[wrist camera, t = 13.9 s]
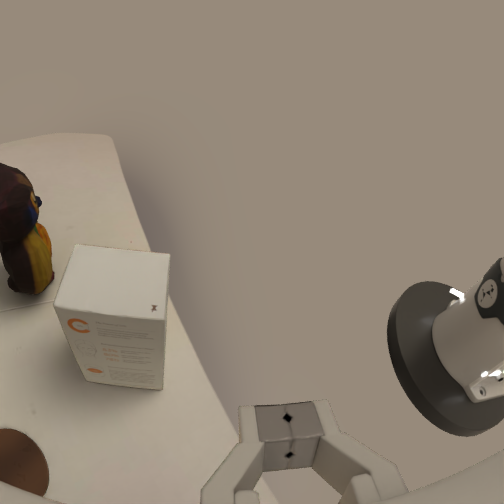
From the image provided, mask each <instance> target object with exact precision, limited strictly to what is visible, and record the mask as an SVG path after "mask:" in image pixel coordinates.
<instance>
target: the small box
mask: <svg viewBox="0 0 504 504" xmlns="http://www.w3.org/2000/svg"><path fill="white" fill-rule="evenodd" d="M169 267H170V254H167V253H156V252H147V251H138V250H128V249H119V248H109V247H100V246H91V245H82V244H75V246H74V249H73V251H72V254H71V257H70V259H69V262H68V264H67V267H66V270H65V272H64V275H63V278H62V281H61V283H60V286H59V289H58V292H57V295H56V298H55V300H54V303H53V306H54V308H55V311H56V313H57V316H58V318H59V321H60V323H61V326H62V328H63V331H64V333H65V336H66V338H67V340H68V343H69V345H70V347H71V349H72V352H73V354H74V356H75V359H76V361H77V363H78V365H79V367H80V369H81V371H82V373H83V375H84V377H85V379H86V381H89V382H96V383H102V384H110V385H118V386H126V387H135V388H145V389H157V390H162V389H163V378H164V360H165V342H166V322H167V303H168V285H169Z"/></svg>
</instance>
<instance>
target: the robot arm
mask: <svg viewBox="0 0 504 504" xmlns="http://www.w3.org/2000/svg"><path fill="white" fill-rule="evenodd" d="M450 292H451V293H453V294H455V295H457V296H458V297H460V298H459V299H458V300H452V301H451V302H450V303H449V304H448V306H447V309H446V310H445V311H443V312H442V313H440V314H439V315H438V316H437V317H436V318H435V320H434V322H433V326H432V338H433V343H434V347H435V350H436V352H437V355H438V357H439V359H440V361H441V363H442V364H443V366H444V368H445V369H446V370H447V372H448V373H449V374H450V375H451V376H452V377H453V378H454V379H455V380H456V381H457V382H458V383H459V384H460V385H461V386H462V387H463V389H464V390H465V392H466V394H467V396H468V397H469V399H470V400H471V401H472V402H473V403H478V402H483V401H487V400H491V399H495V398H499V397H502V396H504V257H503V258H499V259H498V260H497V261H496V263H495V264H493V265H492V266H491V268H490V269H489V271H488V272H487V273H486V274H485V275H484V277H483V279H480V280H479V281H478V282H477V283H476V284H474V285H473V286H472V287H471V288H470V289H469V290H468V291H467V292H466V293H465V294H463V293H461V292H459V291H457V290H455V289H453V288H452V289H451V290H450ZM307 467H312V469H313V470H314V471H316V472H317V473H318V474H319V475H320V476H321V477H322V478H323V479H324V480H325V481H326V482H327V483H329V484H330V485H331V486H332V487H333V488H334V489H335V490H336V491H337V492H339V493H340V494H341V495H342V498H341V500H340V501H339V503H338V504H504V449H503V450H501V451H500V452H498V453H496V454H494V455H493V456H491V457H489V458H487V459H485V460H483V461H481V462H479V463H477V464H475V465H473V466H471V467H469V468H467V469H465V470H463V471H461V472H459V473H456V474H454V475H452V476H449V477H447V478H445V479H442V480H440V481H438V482H435V483H433V484H430V485H427V486H425V487H422V488H419V489H416V490H414V491H411V492H409V491H408V489H407V487H406V485H405V483H404V481H403V478H402V476H401V474H400V472H399V470H398V468H397V466H396V464H394V463H392V462H391V461H389V460H387V459H386V458H384V457H382V456H381V455H379V454H378V453H376V452H375V451H373V450H371V449H370V448H368V447H367V446H365V445H363V444H362V443H360V442H359V441H357V440H356V439H354V438H353V437H351V436H349V435H348V434H347V433H341V432H340V429H339V427H338V424H337V421H336V419H335V416H334V414H333V411H332V409H331V406H330V404H329V401H328V400H327V399H326V400H318V401H309V402H300V403H291V404H281V405H257V406H239V443H237V444H236V445H235V447H234V448H233V449H232V451H231V452H230V453H229V455H228V456H227V457H226V459H225V460H224V461H223V462H222V464H221V465H220V466H219V468H218V469H217V470H216V471H215V473H214V474H213V475H212V476H211V478H210V479H209V480H208V481H207V483H206V484H205V485H204V486H203V488H202V489H201V503H200V504H260V502H259V495H258V493H257V492H256V491H254V490H253V488H254V487H255V485H256V483H257V482H258V480H259V478H260V476H261V475H262V472H268V471H278V470H286V469H297V468H307ZM0 504H65V503H61V502H58V501H54V500H51V499H48V498H45V497H42V496H39V495H36V494H33V493H30V492H27V491H24V490H22V489H19V488H17V487H14V486H11V485H9V484H7V483H4V482H2V481H0Z"/></svg>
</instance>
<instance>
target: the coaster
mask: <svg viewBox="0 0 504 504" xmlns="http://www.w3.org/2000/svg"><path fill="white" fill-rule="evenodd" d="M0 481H2V482H4V483H7V484H9V485H11V486H14V487H17V488H19V489H22V490H24V491H27V492H30V493H33V494H36V495H39V496H42V497H43V496H44V494H45V493H46V490H47V487H48V483H49V471H48V466H47V462H46V459H45V457H44V455H43V453H42V451H41V450H40V448H39V447H38V446H37V445H36V443H35V442H34V441H33V440H32V439H30V438H29V437H28V436H26V435H25V434H23V433H21V432H19V431H17V430H13V429H0Z"/></svg>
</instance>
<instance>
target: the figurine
mask: <svg viewBox="0 0 504 504" xmlns="http://www.w3.org/2000/svg"><path fill="white" fill-rule="evenodd" d="M41 204H42V201H41V199H40V197H38V196H35V194H34V190H33V186H32V184H31V182H30V181H29V179H28V178H27V177H26V175H25V174H24V173H23V172H21V171H20V170H18V169H17V168H13V167H10V166H7V165H5V164H2V163H0V253H1V257H2V260H3V264H4V267H5V269H6V271H7V272H8V274H9V275H10V276H9V278H8V280H7V281H8V286H9V288H10V289H12V290H13V291H15V292H22V293H27V294H37V293H40V292H42V291H43V290H44V289H45V287H46V286H47V285H48V284H49V283H50V282H51V281H52V280H53V279H54V272H53V270H52V261H51V257H52V250H51V241H50V238H49V236H48V233H47V231H46V229H45V228H44V226H42V225H41V224H39V223H38V221H37V219H38V215H39V207H40V206H41Z"/></svg>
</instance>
